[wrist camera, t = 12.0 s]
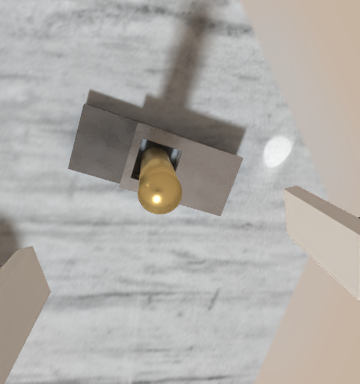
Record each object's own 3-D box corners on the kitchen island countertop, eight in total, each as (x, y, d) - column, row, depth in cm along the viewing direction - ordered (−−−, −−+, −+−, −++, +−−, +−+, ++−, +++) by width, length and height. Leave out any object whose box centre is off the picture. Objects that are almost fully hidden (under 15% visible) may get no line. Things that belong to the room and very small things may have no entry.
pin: (138, 150, 37) (133, 177, 23) (165, 144, 37) (177, 167, 23) (145, 176, 38) (143, 218, 24) (171, 171, 39) (185, 208, 24)
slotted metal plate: (71, 166, 37) (64, 171, 34) (86, 104, 35) (81, 103, 32) (216, 208, 41) (221, 216, 38) (237, 154, 39) (244, 158, 36)
